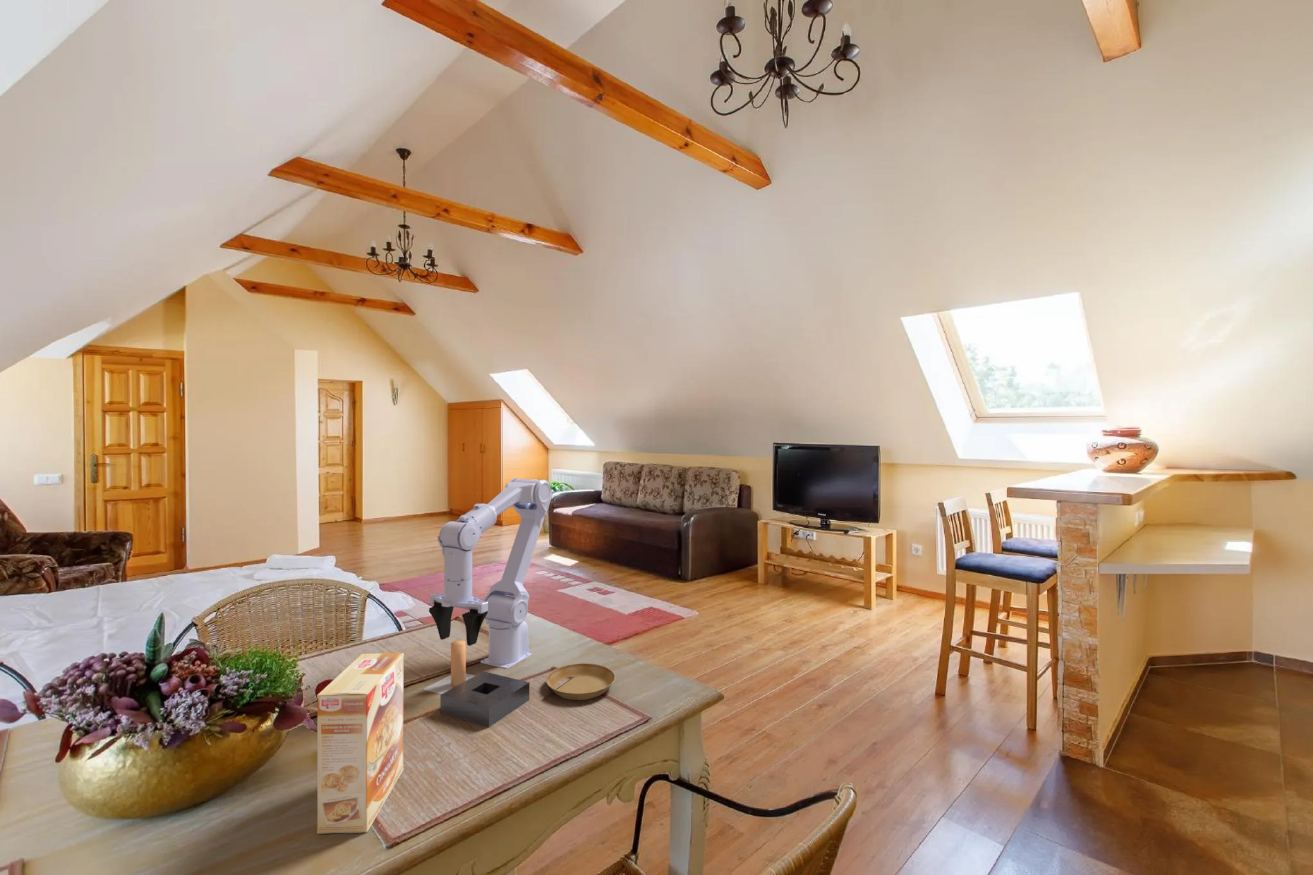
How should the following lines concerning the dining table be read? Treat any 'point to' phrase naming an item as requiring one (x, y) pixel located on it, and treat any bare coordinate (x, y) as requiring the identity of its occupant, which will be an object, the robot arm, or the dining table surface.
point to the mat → (444, 685)
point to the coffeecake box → (359, 742)
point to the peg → (458, 662)
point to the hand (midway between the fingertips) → (458, 641)
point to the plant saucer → (581, 681)
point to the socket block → (484, 698)
